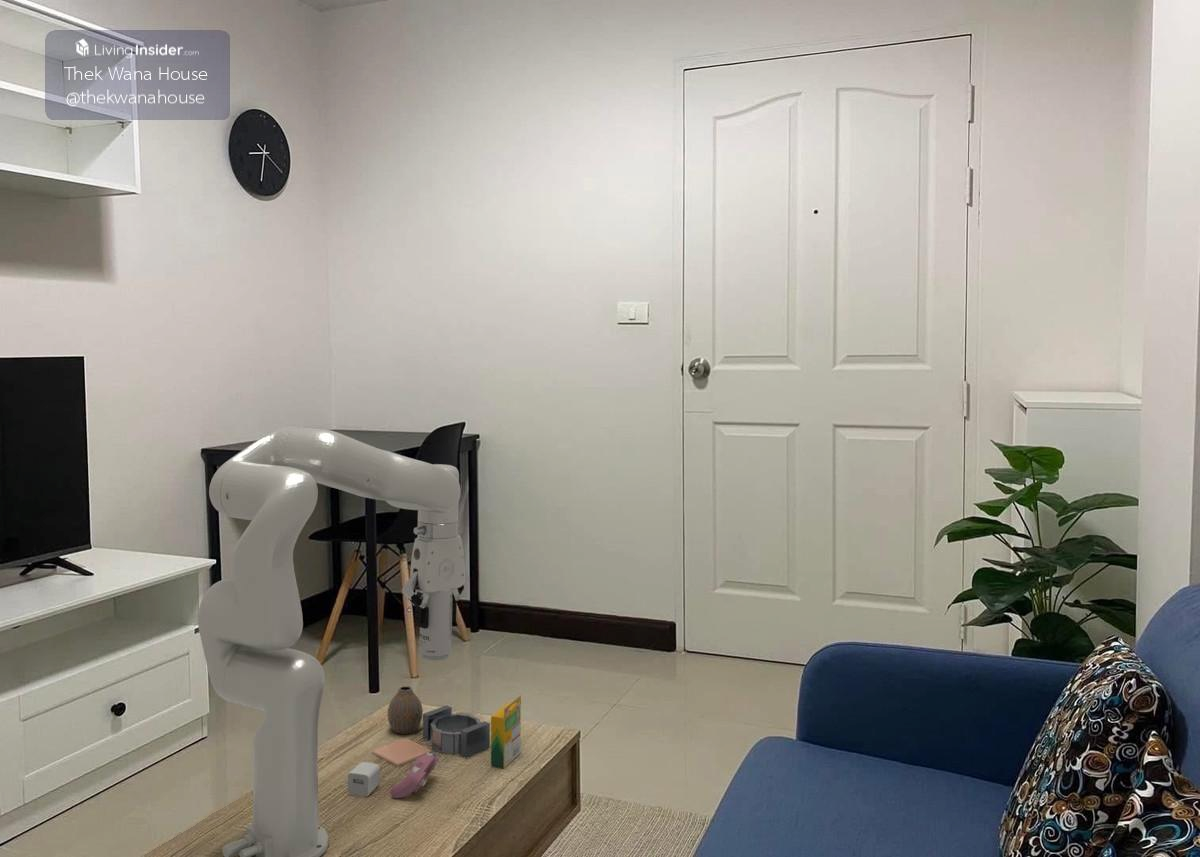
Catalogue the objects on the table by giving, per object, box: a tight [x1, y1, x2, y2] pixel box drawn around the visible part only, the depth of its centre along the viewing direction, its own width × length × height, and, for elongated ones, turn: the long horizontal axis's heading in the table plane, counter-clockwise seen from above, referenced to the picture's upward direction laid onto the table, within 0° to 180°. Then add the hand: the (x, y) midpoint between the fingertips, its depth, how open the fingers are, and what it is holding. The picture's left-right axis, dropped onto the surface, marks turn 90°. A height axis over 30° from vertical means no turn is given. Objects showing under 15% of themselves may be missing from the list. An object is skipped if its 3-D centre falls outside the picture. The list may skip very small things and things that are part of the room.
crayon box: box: [490, 695, 522, 770], centre depth 180 cm, size 7×3×12 cm, turn 160°
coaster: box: [371, 737, 433, 768], centre depth 182 cm, size 8×8×1 cm
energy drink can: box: [419, 589, 453, 661], centre depth 182 cm, size 6×6×15 cm
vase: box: [387, 685, 424, 735], centre depth 192 cm, size 7×7×9 cm
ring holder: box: [422, 705, 491, 759], centre depth 186 cm, size 13×10×5 cm
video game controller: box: [390, 752, 440, 799], centre depth 168 cm, size 10×5×7 cm, turn 169°
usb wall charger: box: [347, 761, 383, 798], centre depth 168 cm, size 4×7×4 cm, turn 167°
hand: (435, 622), depth 182 cm, fingers closed on energy drink can, 6 cm apart
